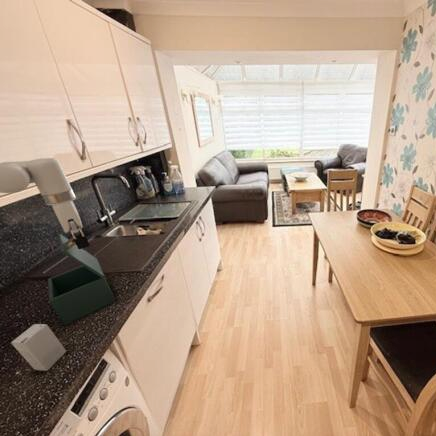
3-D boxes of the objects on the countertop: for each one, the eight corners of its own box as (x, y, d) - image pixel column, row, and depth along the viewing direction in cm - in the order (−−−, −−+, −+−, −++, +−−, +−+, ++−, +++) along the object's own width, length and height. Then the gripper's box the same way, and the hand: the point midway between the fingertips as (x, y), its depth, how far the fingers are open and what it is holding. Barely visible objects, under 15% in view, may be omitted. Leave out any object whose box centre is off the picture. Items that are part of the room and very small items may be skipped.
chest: (65, 325, 81) (49, 301, 76) (62, 300, 92) (47, 278, 88) (115, 300, 90) (104, 278, 86) (107, 281, 101) (96, 260, 97)
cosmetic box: (55, 351, 72) (33, 322, 67) (68, 351, 72) (47, 323, 67) (33, 371, 67) (8, 342, 61) (47, 372, 66) (23, 343, 61)
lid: (60, 251, 75) (76, 240, 77) (57, 235, 86) (71, 225, 88) (102, 278, 85) (115, 267, 87) (95, 260, 96) (106, 251, 98)
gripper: (43, 194, 81) (67, 240, 89) (44, 206, 70) (72, 257, 77) (72, 189, 86) (92, 232, 94) (77, 199, 74) (100, 248, 82)
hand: (83, 243), depth 85 cm, fingers open, 6 cm apart
